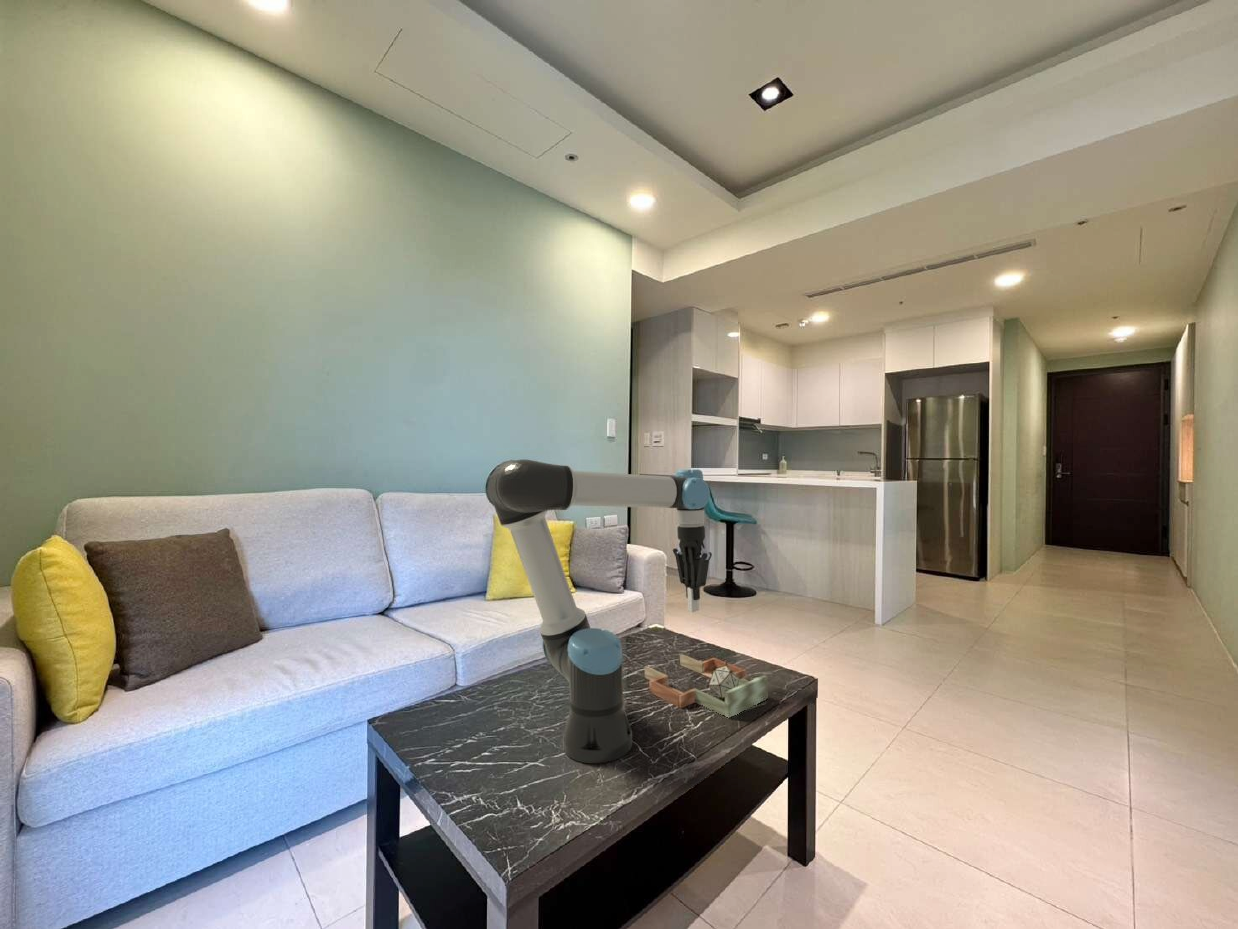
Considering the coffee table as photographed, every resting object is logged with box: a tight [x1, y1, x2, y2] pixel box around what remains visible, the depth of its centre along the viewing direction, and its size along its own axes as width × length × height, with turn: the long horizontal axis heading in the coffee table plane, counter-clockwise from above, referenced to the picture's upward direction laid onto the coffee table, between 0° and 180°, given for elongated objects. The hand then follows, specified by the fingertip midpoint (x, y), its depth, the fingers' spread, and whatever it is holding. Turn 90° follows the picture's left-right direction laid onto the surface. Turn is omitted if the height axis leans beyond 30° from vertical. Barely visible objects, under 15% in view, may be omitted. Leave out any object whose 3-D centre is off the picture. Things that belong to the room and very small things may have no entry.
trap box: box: [644, 654, 769, 719], centre depth 135 cm, size 25×31×6 cm
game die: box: [705, 662, 743, 701], centre depth 129 cm, size 9×8×10 cm
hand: (693, 610), depth 137 cm, fingers closed
